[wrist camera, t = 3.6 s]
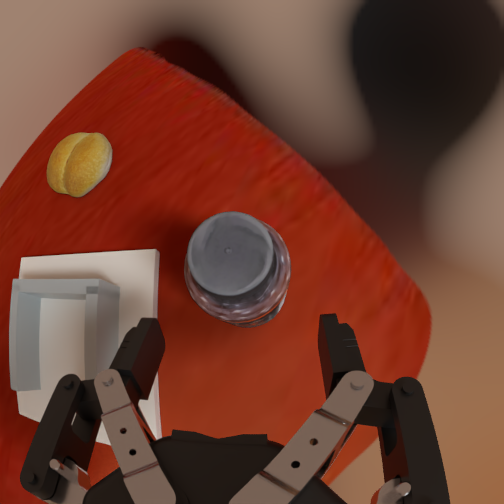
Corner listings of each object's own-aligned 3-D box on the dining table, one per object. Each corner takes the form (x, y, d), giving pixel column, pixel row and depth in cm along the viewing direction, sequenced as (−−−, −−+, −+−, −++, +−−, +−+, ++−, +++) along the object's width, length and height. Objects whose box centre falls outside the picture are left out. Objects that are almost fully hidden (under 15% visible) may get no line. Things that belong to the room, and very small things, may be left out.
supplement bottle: (210, 325, 23) (156, 312, 13) (216, 255, 25) (173, 191, 14) (284, 329, 23) (292, 321, 12) (287, 257, 25) (294, 191, 14)
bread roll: (96, 204, 28) (76, 187, 24) (48, 192, 29) (29, 178, 26) (128, 141, 30) (113, 120, 26) (78, 137, 32) (63, 120, 28)
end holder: (163, 451, 20) (142, 469, 16) (24, 412, 22) (-2, 416, 17) (159, 252, 26) (138, 235, 21) (27, 260, 27) (1, 248, 22)
